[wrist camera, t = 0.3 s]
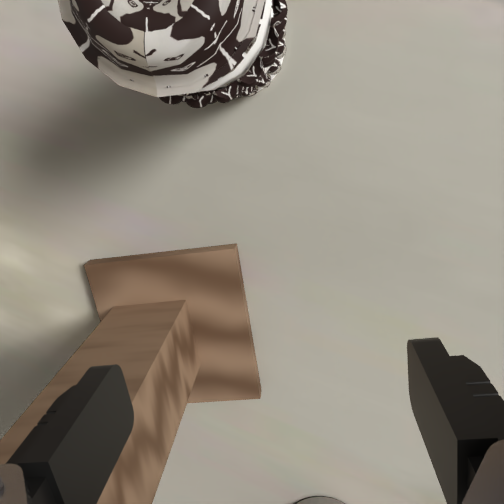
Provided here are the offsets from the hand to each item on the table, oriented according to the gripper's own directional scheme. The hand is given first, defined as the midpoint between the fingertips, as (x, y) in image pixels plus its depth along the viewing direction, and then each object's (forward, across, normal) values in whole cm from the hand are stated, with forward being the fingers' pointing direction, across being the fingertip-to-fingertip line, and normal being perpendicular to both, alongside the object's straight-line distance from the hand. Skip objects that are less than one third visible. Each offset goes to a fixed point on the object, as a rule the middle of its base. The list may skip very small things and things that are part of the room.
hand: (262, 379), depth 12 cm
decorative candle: (+32, -3, +12) cm, 34 cm away
